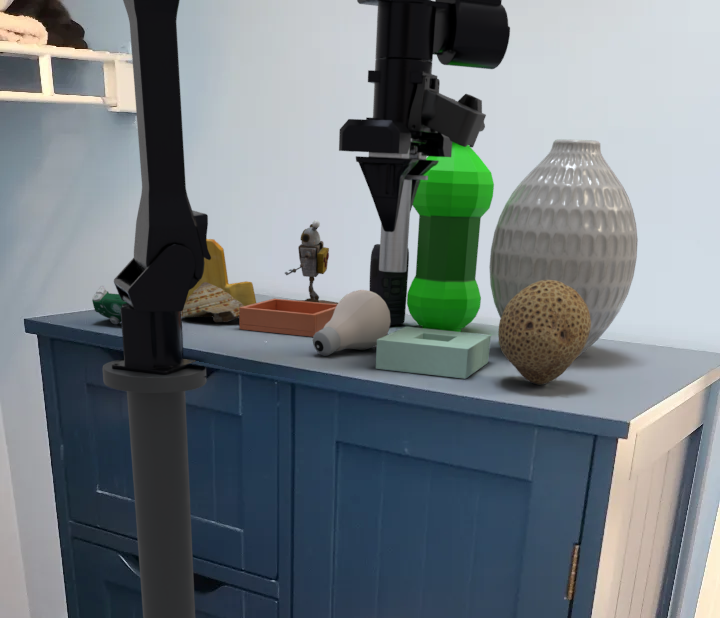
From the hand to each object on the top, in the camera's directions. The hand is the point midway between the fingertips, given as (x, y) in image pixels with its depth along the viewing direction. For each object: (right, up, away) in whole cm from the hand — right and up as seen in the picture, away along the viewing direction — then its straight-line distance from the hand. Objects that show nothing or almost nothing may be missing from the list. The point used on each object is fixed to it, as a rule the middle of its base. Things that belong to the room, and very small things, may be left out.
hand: (394, 231), depth 102 cm
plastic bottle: (+7, -3, +23) cm, 24 cm away
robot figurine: (-10, +2, +32) cm, 34 cm away
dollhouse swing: (-25, +4, +34) cm, 43 cm away
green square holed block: (+4, -14, 0) cm, 15 cm away
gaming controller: (-32, -5, +17) cm, 37 cm away
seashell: (-23, -2, +22) cm, 32 cm away
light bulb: (-5, -11, +6) cm, 14 cm away
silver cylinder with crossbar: (0, -4, +2) cm, 4 cm away
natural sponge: (+14, -19, -6) cm, 24 cm away
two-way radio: (-1, -2, +25) cm, 25 cm away
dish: (-12, -4, +19) cm, 23 cm away
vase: (+19, -10, +10) cm, 24 cm away
